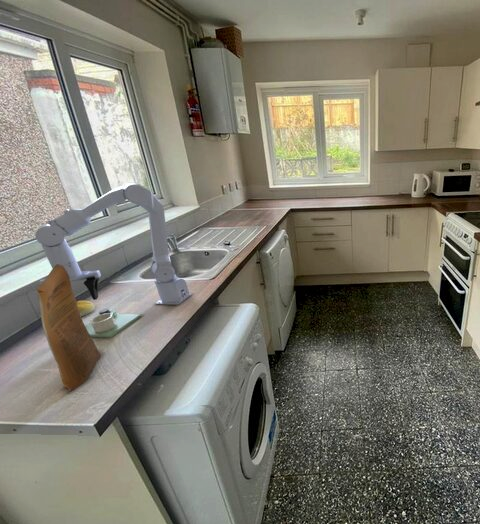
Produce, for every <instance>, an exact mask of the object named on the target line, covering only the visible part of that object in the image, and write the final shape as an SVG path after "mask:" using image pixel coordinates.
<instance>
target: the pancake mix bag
mask: <svg viewBox="0 0 480 524" xmlns="http://www.w3.org/2000/svg"><path fill="white" fill-rule="evenodd" d="M44 279H45V280H44V281H43V282H42V283H41V284H40V283H39V285H38V286H37V287H36V288H35V290H36V292H37V293H36V296H37V299H38V304H39V309H40V319H41V325H42V329H43V332H44V335H45V338H46V341H47V345H48V347H49V349H50V351H51V353H52V356H53V358H54V360H55V363H56V364H57V367H58V372H59V375H60V379H61V381H62V385H63V387H64V389H68V391H69V392H72V391H74V390H75V389H77V388H79V387H81V386H83V384H84V383H86V382H87V380H89V379H90V377H91V374H92V372H93V371H94V369H95V367H96V365H97V363H98V361H99V359H100V358H101V355H102V354H101V353H100V351H99V349H98V347H97V345H96V343H95V342H94V340H93V337H91V336H90V334H89V332H88V331H87V329H86V327H85V325H86V324H85V323H84V321H83V319H82V317H81V315H80V312H79V310H78V307H77V299H76V296H75V294H74V292H73V288H72V282H70V279H69V275H68V273H67V271H66V269H65V268H64V267H63V266H61V265H59V264H57V265H56V266H55V267H54V268H51V270H50V272H49V273H48V275H47V276H46V278H44Z"/></svg>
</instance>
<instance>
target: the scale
mask: <svg viewBox="0 0 480 524" xmlns="http://www.w3.org/2000/svg"><path fill="white" fill-rule="evenodd" d="M108 309H109V312H110V313H112V315H113V317H114V319H115V322H116V325H115V327H114V328H112V329H111V330H109V331H106V332H102V333H98V332H95V331H94V329H93V327H92V325H91V323H90V322H88V323H87V324H84V325H85V327H86V329H87V331H88V332H89V334H90V336H91V338H112V337H114V336H115V335H117V334H118V333H120V332H121V331H123V330H124V329H126V327H128V326H129V325H131V324H133V323H134V322H135V321H137V320H138V319H139V318H141V317H142V315H141V314H140V313H139V314H138V313H117V311H116V310H115V309H114V308H108ZM98 315H100V314H99V312H98V313H96V314H95V315H94V317H96V316H98Z"/></svg>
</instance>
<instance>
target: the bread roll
mask: <svg viewBox="0 0 480 524" xmlns="http://www.w3.org/2000/svg"><path fill="white" fill-rule="evenodd" d="M76 302H77V307H78V310H79V312H80V315H81V318H82V317H84V316H87V315H88V314H90V313H92V312H93V311H94V310H95V304H94V303H93V302H92V301H89V300H76Z"/></svg>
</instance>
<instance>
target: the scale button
mask: <svg viewBox="0 0 480 524" xmlns="http://www.w3.org/2000/svg"><path fill="white" fill-rule="evenodd" d="M109 309H110V308H103V309H101V310H99V311H98V313H99V314H100V315H101V314H105V313H110V312H109Z"/></svg>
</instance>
